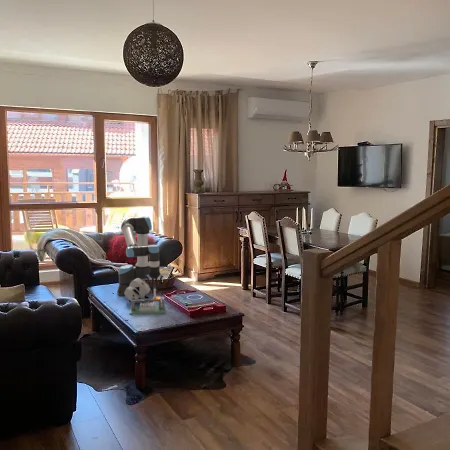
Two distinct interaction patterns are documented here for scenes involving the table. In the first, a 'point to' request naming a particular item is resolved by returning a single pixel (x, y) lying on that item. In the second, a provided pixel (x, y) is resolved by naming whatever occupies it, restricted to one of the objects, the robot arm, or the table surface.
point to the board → (156, 311)
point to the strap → (147, 300)
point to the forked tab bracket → (132, 305)
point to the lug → (161, 304)
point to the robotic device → (137, 290)
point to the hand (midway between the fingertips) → (154, 297)
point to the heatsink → (146, 306)
